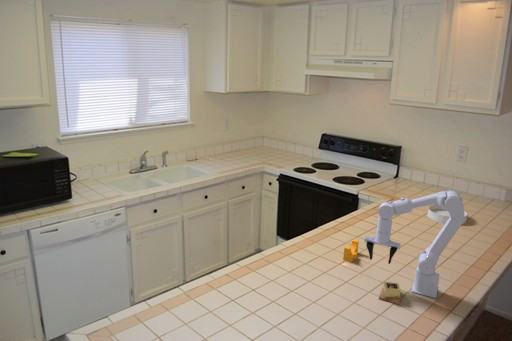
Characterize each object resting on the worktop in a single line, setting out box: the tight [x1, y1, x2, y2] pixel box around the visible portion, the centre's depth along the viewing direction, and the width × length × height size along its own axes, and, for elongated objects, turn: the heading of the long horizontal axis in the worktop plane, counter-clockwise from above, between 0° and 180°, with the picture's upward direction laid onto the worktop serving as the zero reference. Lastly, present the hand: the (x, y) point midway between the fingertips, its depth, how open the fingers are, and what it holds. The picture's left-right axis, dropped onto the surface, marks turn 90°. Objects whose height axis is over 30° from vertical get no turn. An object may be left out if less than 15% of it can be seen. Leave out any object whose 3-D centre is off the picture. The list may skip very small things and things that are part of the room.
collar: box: [382, 281, 401, 299], centre depth 174 cm, size 6×6×4 cm
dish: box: [426, 205, 468, 225], centre depth 265 cm, size 22×22×5 cm
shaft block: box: [378, 286, 403, 305], centre depth 174 cm, size 8×8×4 cm
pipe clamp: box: [343, 239, 359, 263], centre depth 209 cm, size 12×4×6 cm, turn 147°
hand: (380, 260), depth 184 cm, fingers open, 7 cm apart
